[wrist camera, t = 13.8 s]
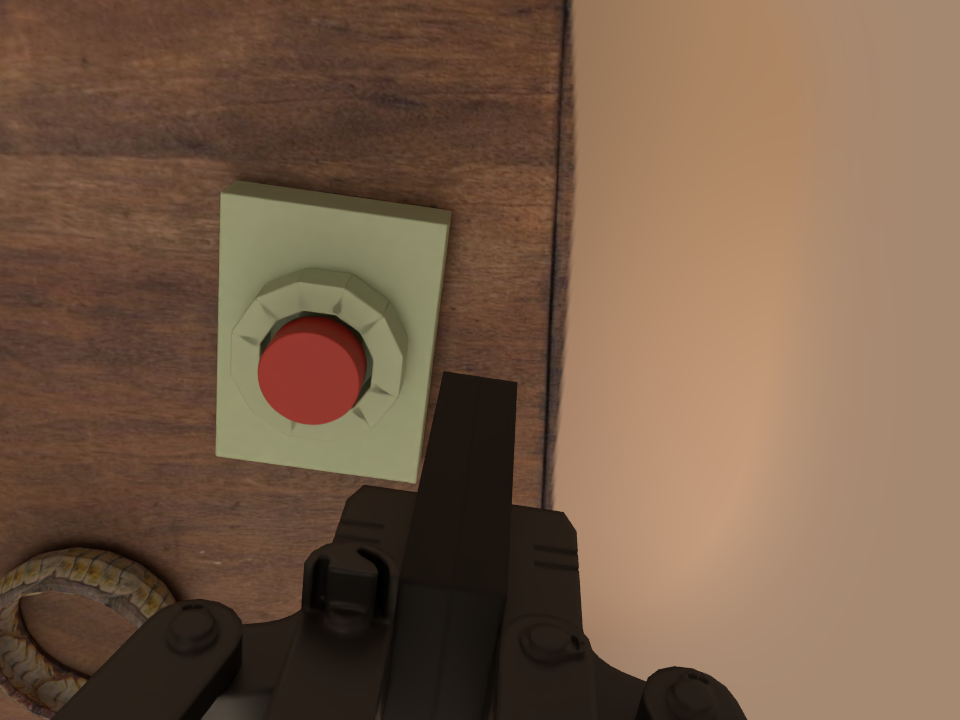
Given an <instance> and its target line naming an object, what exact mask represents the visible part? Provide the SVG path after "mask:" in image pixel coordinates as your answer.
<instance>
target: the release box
mask: <svg viewBox="0 0 960 720" xmlns="http://www.w3.org/2000/svg"><path fill="white" fill-rule="evenodd" d="M451 215H452V212H451V211H450V210H443V209H436V208H429V207H422V206H415V205H408V204H401V203H394V202H387V201H380V200H373V199H366V198H359V197H352V196H345V195H338V194H331V193H324V192H317V191H310V190H303V189H296V188H289V187H282V186H275V185H268V184H261V183H254V182H247V181H240V180H236V181H235V182H233V183H232V184H231V185H230V186H228V187H227V188H226V189H225V190H223V191H222V192H221V194H220V245H219V300H218V355H217V410H216V456H220V457H227V458H234V459H241V460H249V461H256V462H263V463H271V464H278V465H285V466H292V467H300V468H307V469H314V470H322V471H329V472H336V473H343V474H351V475H358V476H365V477H373V478H380V479H387V480H395V481H402V482H409V483H416V482H417V477H418V472H419V467H420V462H421V455H422V447H423V439H424V431H425V423H426V415H427V407H428V399H429V391H430V383H431V375H432V367H433V359H434V351H435V343H436V335H437V327H438V319H439V311H440V303H441V295H442V287H443V279H444V271H445V263H446V255H447V247H448V239H449V231H450V223H451ZM306 316H319V317H325V318H329V319H332V320H334V321H337V322H339V323H340V324H342V325H344V326H345V327H346V328H348V329H349V330H350V331H351V332H352V333H353V334H354V335H355V336H356V337H357V339H358V340H359V342H360V343H361V345H362V347H363V350H364V352H365V356H366V363H367V369H366V375H365V378H364V381H363V384H362V387H361V389H360V392H359V395H358V398H357V400H356V402H355V404H354V405H353V406H352V408H351V409H350V410H349V411H348V412H347V413H346V414H345V415H343V416H342V417H340V418H339V419H337V420H335V421H332V422H329V423H326V424H320V425H307V424H301V423H297V422H294V421H292V420H289V419H287V418H285V417H284V416H282V415H280V414H279V413H278V412H276V411H275V410H274V409H273V408H272V407H271V406H270V405H269V403H268V402H267V401H266V399H265V398H264V396H263V394H262V392H261V389H260V386H259V382H258V365H259V361H260V359H261V356H262V354H263V353H264V351H265V349H266V348H267V346H268V345H269V343H270V342H271V340H272V338H273V337H274V335H275V334H276V333H277V331H278V330H279V329H280V328H281V327H283V326H284V325H285V324H287V323H288V322H290V321H292V320H294V319H298V318H301V317H306Z"/></svg>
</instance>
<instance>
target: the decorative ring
mask: <svg viewBox="0 0 960 720" xmlns="http://www.w3.org/2000/svg"><path fill="white" fill-rule="evenodd" d="M47 592H55V593H63V594H70V595H78V596H83V597H86V598H88V599H90V600H93V601H95V602H98V603H100V604H103V605H105V606H107V607H110V608H112V609H113V610H115V611H116V612H117V613H118V614H120V615H121V616H122V617H124V618H125V619H126V620H128V621H129V622H130V623H131V624H133V625H134V626H135V627H136V628H137V629H139V628H140V627H141V626H142V625H143V624H144V623H145V622H146V621H147V619H148V618H149V617H151V616H152V615H154V614H155V613H156V612H158V611H159V610H160V609H162V608H163V607H165V606H168V605H171V604H174V603H177V601H176V600H175V598H174V597H173V595H172V594H171V592H170V591H169V589H168V588H167V586H166V585H165V583H164V582H162V581H161V580H160V579H159V578H157V577H156V576H155V575H154V574H152V573H151V572H150V571H148V570H147V569H146V568H145V567H143V566H142V565H141V564H140V563H137V562H135V561H132V560H130V559H128V558H125V557H123V556H121V555H118V554H116V553H113V552H111V551H106V550H98V549H91V548H83V547H74V548H69V549H63V550H57V551H51V552H47V553H43V554H39V555H37V556H35V557H33V558H32V559H30V560H28V561H27V562H25V563H23V564H21V565H20V566H18V567H16V568H15V569H13V570H12V571H10V572H9V573H7V574H6V575H5V576H3V577H2V579H1V580H0V688H1V689H2V691H3V692H4V693H5V694H6V696H8V697H9V698H10V699H12V700H13V701H15V702H16V703H17V704H19V705H20V706H22V707H23V708H24V709H26V710H27V711H29V712H30V713H32V714H33V715H36V716H39V717H41V718H44V719H46V720H50V719H51V718H52V717H53V716H54V715H55V714H56V713H57V712H58V711H59V710H60V709H61V708H62V707H63V706H64V705H65V704H66V703H67V702H68V701H69V700H70V699H71V697H72V696H73V695H74V694H75V693H76V692H77V691H78V690H79V689H80V688H81V687H82V686H83V685H84V684H85V683H86V682H87V681H88V680H89V679H90V678H91V677H88V676H85V675H83V674H80V673H78V672H75V671H73V670H70V669H68V668H65V667H63V666H62V665H60V664H59V663H58V662H56V661H55V660H53V659H52V658H51V657H49V656H48V655H47V654H45V653H44V652H43V651H41V650H40V648H39V647H38V646H37V644H36V643H35V642H34V641H33V639H32V638H31V637H30V635H29V634H28V633H27V631H26V630H25V627H24V624H23V621H22V618H21V614H20V611H19V608H18V607H19V599H21V598H22V597H24V596H30V595H36V594H42V593H47Z"/></svg>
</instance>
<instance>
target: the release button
mask: <svg viewBox="0 0 960 720" xmlns="http://www.w3.org/2000/svg"><path fill="white" fill-rule="evenodd" d="M366 369H367V363H366V356H365V352H364V350H363V347H362V345H361V343H360V342H359V340H358V339H357V337H356V336H355V335H354V334H353V333H352V332H351V331H350V330H349V329H348V328H346V327H345V326H344V325H342V324H340V323H339V322H337V321H334V320H332V319H329V318H325V317H319V316H306V317H301V318H298V319H294V320H292V321H290V322H288V323H287V324H285V325H284V326H283V327H281V328H280V329H279V330H278V331H277V333H276V334H275V335H274V337H273V338H272V340H271V342H270V343H269V345H268V346H267V348H266V349H265V351H264V353H263V354H262V356H261V359H260V361H259V365H258V382H259V386H260V389H261V392H262V394H263V396H264V398H265V399H266V401H267V402H268V403H269V405H270V406H271V407H272V408H273V409H274V410H275V411H276V412H278V413H279V414H280V415H282V416H284V417H285V418H287V419H289V420H292V421H294V422H297V423H301V424H307V425H320V424H326V423H329V422H332V421H335V420H337V419H339V418H340V417H342V416H343V415H345V414H346V413H347V412H348V411H349V410H350V409H351V408H352V406H353V405H354V404H355V402H356V400H357V398H358V395H359V392H360V389H361V387H362V384H363V381H364V378H365V375H366Z"/></svg>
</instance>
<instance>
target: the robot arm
mask: <svg viewBox="0 0 960 720" xmlns="http://www.w3.org/2000/svg"><path fill="white" fill-rule="evenodd" d="M516 400H517V382H512V381H506V380H499V379H492V378H485V377H478V376H472V375H465V374H458V373H451V372H445V371H444V372H443V377H442V382H441V386H440V391H439V395H438V400H437V405H436V409H435V414H434V418H433V423H432V428H431V432H430V437H429V442H428V446H427V451H426V455H425V460H424V465H423V469H422V474H421V479H420V483H419V488H418V492H410V491H403V490H396V489H390V488H383V487H376V486H369V485H363V486H362V487H361V488H360V489H359V490H358V491H356V492H355V493H354V494H353V495H352V496H351V497H349V498H348V499H347V501H346V504H345V507H344V510H343V513H342V516H341V519H340V522H339V524H338V527H337V530H336V533H335V537H334V539H333V542H332V543H330V544H326V545H324V546H322V547H320V548H319V549H317V550H315V551H313V552H312V553H311V554H310V556H309V557H308V559H307V560H306V561H305V563H304V576H303V591H302V606H301V610H300V611H298V612H296V613H295V614H293V615H291V616H288V617H285V618H283V619H280V620H275V621H270V622H264V623H254V624H243V625H242V621H241V619H240V618H239V617H238V616H237V614H236V613H235V612H234V610H233V609H231V608H229V607H227V606H225V605H223V604H221V603H220V602H215V601H209V600H204V599H196V600H184V601H180V602H177V603H174V604H171V605H168V606H165V607H163V608H162V609H160V610H159V611H158V612H156V613H155V614H154V615H152V616H151V617H149V618H148V619H147V621H146V622H145V623H144V624H143V625H142V626H141V627H140V628H139V629H138V630H137V631H136V632H135V633H134V634H133V635H132V636H131V637H130V638H129V639H128V640H127V641H126V642H125V643H124V644H123V645H122V646H121V647H120V648H119V649H118V650H117V651H116V652H115V653H114V654H113V655H112V656H111V657H110V658H109V660H108V661H107V662H106V663H105V664H104V665H103V666H102V667H101V668H100V669H99V670H98V671H97V672H96V673H95V674H94V675H93V676H92V677H91V678H90V679H89V680H88V681H87V682H86V683H85V684H84V685H83V686H82V687H81V688H80V689H79V690H78V691H77V692H76V693H75V694H74V695H73V696H72V697H71V699H70V700H69V701H68V702H67V703H66V704H65V705H64V706H63V707H62V708H61V709H60V710H59V711H58V712H57V713H56V714H55V715H54V716H53V717H52V718H51V719H50V720H747V718H746V717H745V715H744V713H743V711H742V709H741V708H740V706H739V704H738V702H737V700H736V699H735V698H734V697H733V695H732V694H731V693H730V691H729V690H728V689H727V688H726V686H724V685H723V684H721V683H720V682H719V681H717V680H716V679H714V678H713V677H712V676H710V675H708V674H705V673H703V672H700V671H697V670H695V669H692V668H684V667H676V666H673V667H668V668H664V669H659V670H657V671H656V672H655V673H653V674H652V675H651V676H649V677H648V679H647V681H643V680H641V679H638V678H636V677H633V676H631V675H628V674H626V673H624V672H621V671H620V670H618V669H616V668H614V667H611V666H610V665H609V664H607V663H606V662H605V661H603V660H602V659H600V658H599V657H598V656H597V655H596V654H595V653H594V651H593V650H592V648H591V645H590V642H589V639H588V638H587V637H586V635H585V634H584V632H583V626H582V612H581V611H582V610H581V595H580V580H579V571H578V568H579V563H578V555H577V552H578V549H577V532H576V530H575V528H574V527H573V526H572V524H571V522H570V521H569V520H568V518H567V516H566V515H565V514H564V512H560V511H553V510H546V509H539V508H533V507H526V506H519V505H512V486H513V464H514V443H515V422H516Z"/></svg>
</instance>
